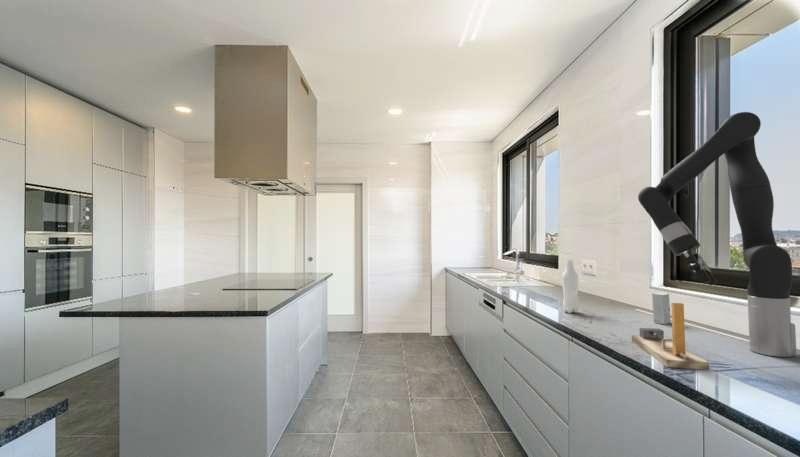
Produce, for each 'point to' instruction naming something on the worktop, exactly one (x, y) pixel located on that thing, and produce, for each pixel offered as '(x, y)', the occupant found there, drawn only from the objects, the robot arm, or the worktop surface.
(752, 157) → the robot arm
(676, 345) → the upright wooden paddle
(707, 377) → the worktop surface
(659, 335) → the gray rectangular block
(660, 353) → the rail board
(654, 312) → the skincare box
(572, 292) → the water bottle
